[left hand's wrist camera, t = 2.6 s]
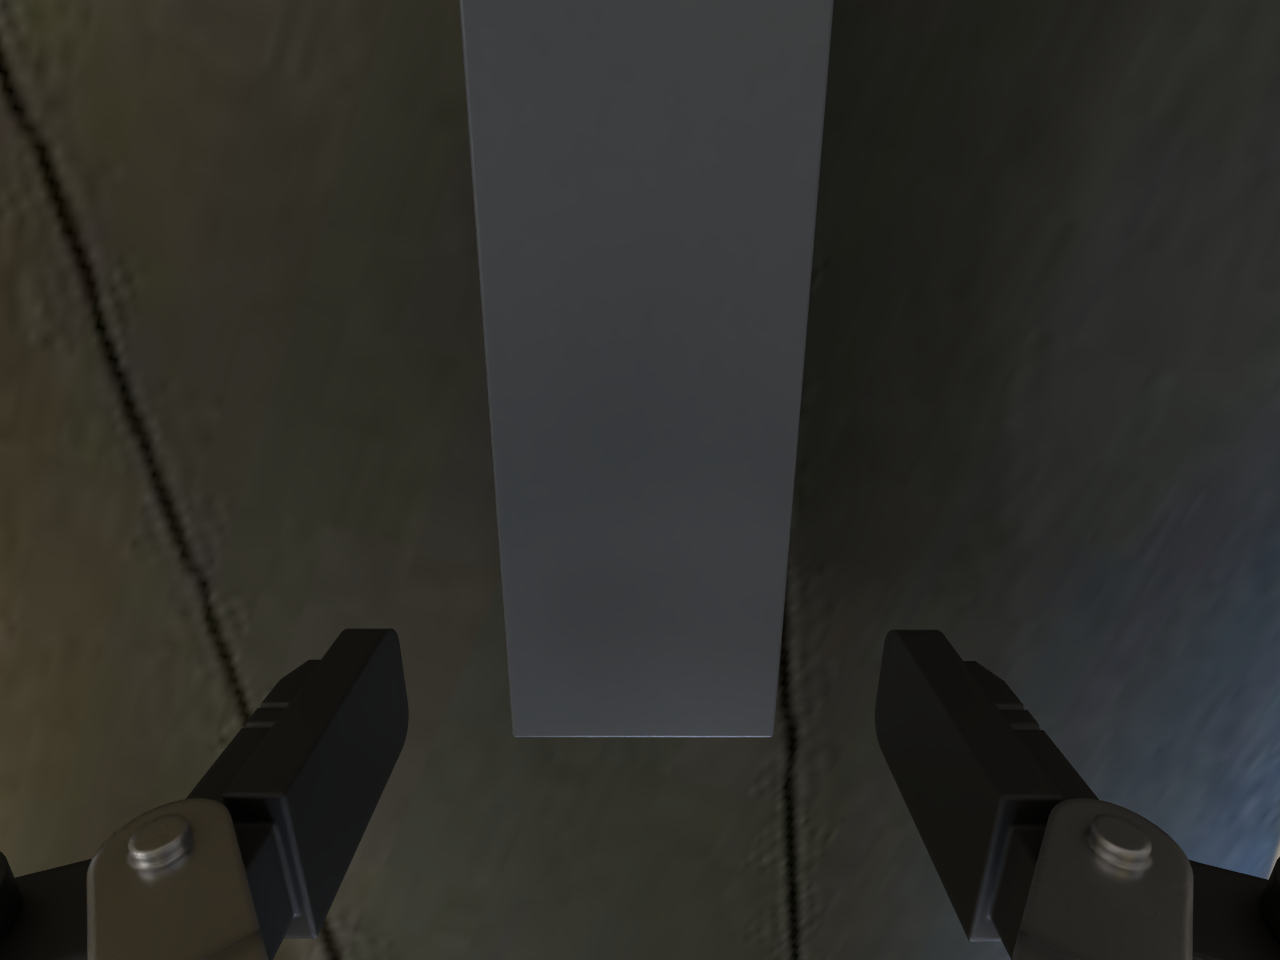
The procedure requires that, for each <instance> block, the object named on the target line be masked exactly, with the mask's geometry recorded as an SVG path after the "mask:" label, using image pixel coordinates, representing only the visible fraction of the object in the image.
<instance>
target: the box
mask: <svg viewBox="0 0 1280 960" xmlns="http://www.w3.org/2000/svg"><path fill="white" fill-rule="evenodd" d="M833 7H834V0H459V9H460V23H461V36H462V50H463V64H464V78H465V91H466V105H467V119H468V132H469V146H470V160H471V173H472V187H473V201H474V214H475V228H476V242H477V255H478V269H479V283H480V296H481V310H482V324H483V337H484V351H485V365H486V378H487V392H488V406H489V419H490V433H491V447H492V460H493V474H494V488H495V501H496V515H497V529H498V542H499V556H500V570H501V584H502V597H503V611H504V625H505V638H506V652H507V666H508V679H509V693H510V707H511V720H512V733H513V736H514V737H773V734H774V726H775V713H776V701H777V689H778V677H779V665H780V652H781V640H782V628H783V616H784V604H785V592H786V579H787V567H788V555H789V543H790V531H791V519H792V506H793V494H794V482H795V470H796V458H797V445H798V433H799V421H800V409H801V397H802V385H803V372H804V360H805V348H806V336H807V324H808V311H809V299H810V287H811V275H812V263H813V251H814V238H815V226H816V214H817V202H818V190H819V178H820V165H821V153H822V141H823V129H824V117H825V104H826V92H827V80H828V68H829V56H830V44H831V31H832V19H833Z"/></svg>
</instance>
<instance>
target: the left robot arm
mask: <svg viewBox="0 0 1280 960" xmlns="http://www.w3.org/2000/svg"><path fill="white" fill-rule="evenodd" d="M261 704H262V705H261V708H257V710H256V711H255V712H254V713H253V715H252V716H251V717H250V718H249V720H248V721H247V722H246V727H245V728H242V729H241V730H240V731H239V732H238V734H237V735H236V736H235V737H234V739H233V740H232V741H231V742H230V744H229V745H228V746H227V748H226V749H225V750H224V751H223V753H222V754H221V755H220V756H219V758H218V759H217V760H216V761H215V763H214V764H213V765H212V766H211V768H210V769H209V770H208V772H207V773H206V774H205V775H204V777H203V778H202V779H201V780H200V782H199V783H198V784H197V785H196V787H195V788H194V789H193V790H192V792H191V793H190V794H189V796H188V797H187V798H186V799H184V800H179V801H175V802H171V803H168V804H165V805H162V806H159V807H156V808H154V809H152V810H150V811H147V812H145V813H143V814H142V815H140V816H138V817H136V818H134V819H133V820H131V821H130V822H128V823H127V824H125V825H124V826H122V827H121V828H120V829H119V830H117V831H116V832H115V833H114V834H112V835H111V836H110V837H109V838H108V839H107V840H106V841H105V842H104V843H103V844H102V846H101V847H100V848H99V849H98V851H97V852H96V853H95V855H94V857H93V858H92V859H89V860H85V861H81V862H77V863H73V864H69V865H65V866H61V867H57V868H53V869H49V870H45V871H41V872H37V873H32V874H28V875H24V876H20V877H16V878H14V876H13V873H12V871H11V868H10V866H9V864H8V861H7V859H6V857H5V856H4V855H3V853H2V852H0V960H273V958H274V956H275V954H276V952H277V950H278V948H279V946H280V944H281V942H282V940H283V938H316V937H317V935H318V933H319V931H320V929H321V926H322V924H323V922H324V920H325V918H326V915H327V913H328V911H329V909H330V907H331V904H332V902H333V900H334V898H335V896H336V893H337V891H338V889H339V887H340V885H341V882H342V880H343V878H344V876H345V874H346V871H347V869H348V867H349V865H350V863H351V860H352V858H353V856H354V854H355V852H356V849H357V847H358V845H359V843H360V841H361V838H362V836H363V834H364V832H365V830H366V827H367V825H368V823H369V821H370V819H371V816H372V814H373V812H374V810H375V808H376V805H377V803H378V801H379V799H380V797H381V794H382V792H383V790H384V788H385V786H386V783H387V781H388V779H389V777H390V775H391V772H392V770H393V768H394V766H395V764H396V761H397V759H398V757H399V755H400V753H401V750H402V748H403V745H404V742H405V739H406V734H407V728H408V715H409V713H408V702H407V694H406V687H405V680H404V673H403V666H402V659H401V651H400V644H399V639H398V635H397V633H396V631H395V630H394V629H345V630H344V631H342V632H341V634H340V635H339V636H338V638H337V639H336V640H335V642H334V643H333V644H332V646H331V647H330V649H329V650H328V651H327V653H326V654H325V655H324V657H323V658H322V659H321V660H308V661H307V662H305V663H304V664H302V665H301V666H299V667H298V668H297V669H295V670H294V671H292V672H291V673H289V674H288V675H286V676H285V677H284V678H282V679H281V680H280V681H279V682H278V683H277V684H276V686H275V687H274V688H273V689H272V691H271V692H270V693H269V695H268V696H267V697H266V698H265V700H264V701H263V702H262V703H261ZM875 725H876V733H877V738H878V742H879V745H880V748H881V750H882V753H883V755H884V757H885V759H886V761H887V764H888V766H889V768H890V770H891V772H892V774H893V777H894V779H895V781H896V783H897V785H898V787H899V790H900V792H901V794H902V796H903V798H904V801H905V803H906V805H907V807H908V809H909V811H910V814H911V816H912V818H913V820H914V822H915V824H916V827H917V829H918V831H919V833H920V835H921V838H922V840H923V842H924V844H925V846H926V848H927V851H928V853H929V855H930V857H931V859H932V861H933V864H934V866H935V868H936V870H937V872H938V874H939V877H940V879H941V881H942V883H943V885H944V888H945V890H946V892H947V894H948V896H949V898H950V901H951V903H952V905H953V907H954V909H955V911H956V914H957V916H958V918H959V920H960V922H961V924H962V927H963V929H964V931H965V933H966V935H967V938H968V940H969V941H1002V942H1003V944H1004V946H1005V948H1006V950H1007V952H1008V954H1009V956H1010V958H1011V960H1280V857H1279V858H1278V859H1277V861H1276V864H1275V866H1274V868H1273V871H1272V873H1271V875H1270V878H1269V880H1267V879H1263V878H1259V877H1255V876H1251V875H1247V874H1243V873H1238V872H1234V871H1230V870H1226V869H1222V868H1218V867H1214V866H1210V865H1206V864H1202V863H1198V862H1195V861H1191V860H1188V858H1187V857H1186V855H1185V853H1184V852H1183V851H1182V849H1181V848H1180V847H1179V846H1178V844H1177V843H1176V842H1175V841H1174V840H1173V839H1172V838H1171V837H1170V836H1169V835H1168V834H1166V833H1165V832H1164V831H1163V830H1161V829H1160V828H1159V827H1158V826H1156V825H1155V824H1153V823H1152V822H1150V821H1149V820H1147V819H1146V818H1144V817H1142V816H1140V815H1138V814H1137V813H1135V812H1133V811H1130V810H1128V809H1126V808H1124V807H1121V806H1118V805H1115V804H1112V803H1109V802H1105V801H1101V800H1099V799H1098V798H1097V797H1096V795H1095V794H1094V793H1093V792H1092V790H1091V789H1090V788H1089V787H1088V785H1087V784H1086V783H1085V782H1084V780H1083V779H1082V778H1081V777H1080V775H1079V774H1078V773H1077V772H1076V770H1075V769H1074V768H1073V767H1072V765H1071V764H1070V763H1069V762H1068V760H1067V759H1066V758H1065V757H1064V755H1063V754H1062V753H1061V752H1060V750H1059V749H1058V748H1057V747H1056V745H1055V744H1054V743H1053V742H1052V740H1051V739H1050V738H1049V737H1048V735H1047V734H1046V733H1045V732H1044V730H1040V729H1039V724H1038V723H1037V722H1036V720H1035V719H1034V718H1033V717H1032V715H1031V714H1030V713H1029V712H1028V710H1024V708H1023V704H1022V703H1021V702H1020V700H1019V699H1018V698H1017V697H1016V695H1015V694H1014V693H1013V692H1012V690H1011V689H1010V688H1009V687H1008V685H1007V684H1006V683H1005V682H1004V681H1003V680H1002V679H1000V678H999V677H997V676H996V675H994V674H993V673H991V672H990V671H989V670H987V669H986V668H984V667H983V666H981V665H980V664H978V663H977V662H976V661H963V660H962V659H961V658H960V656H959V655H958V654H957V652H956V651H955V650H954V648H953V647H952V645H951V644H950V643H949V641H948V640H947V639H946V637H945V636H944V635H943V634H942V632H940V631H938V630H891V631H889V632H888V634H887V636H886V639H885V644H884V650H883V657H882V665H881V672H880V679H879V686H878V693H877V700H876V707H875Z"/></svg>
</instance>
